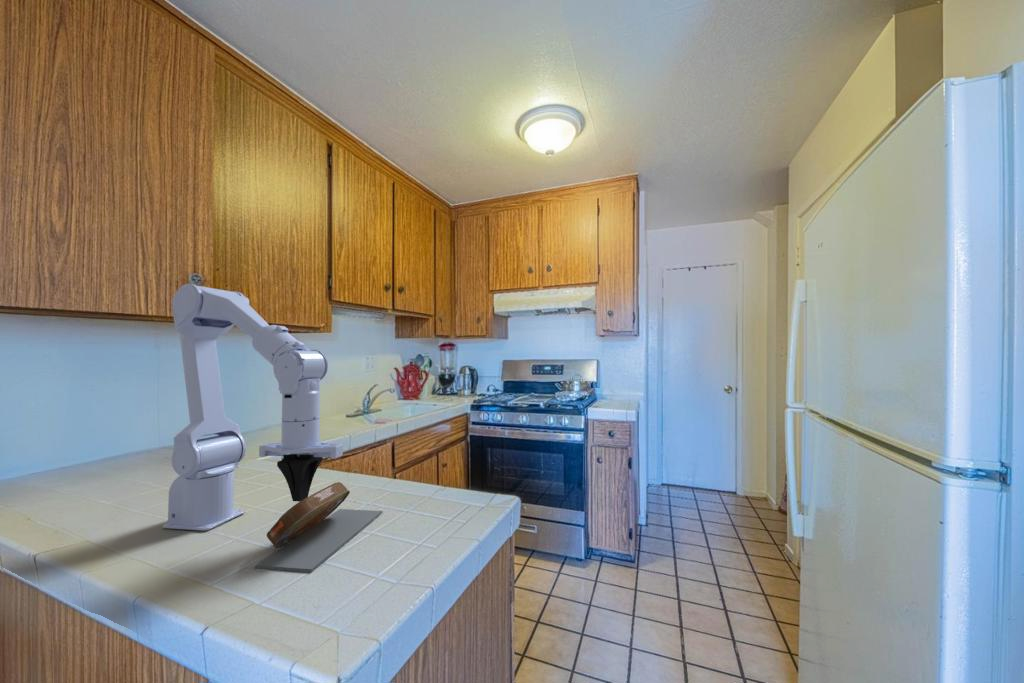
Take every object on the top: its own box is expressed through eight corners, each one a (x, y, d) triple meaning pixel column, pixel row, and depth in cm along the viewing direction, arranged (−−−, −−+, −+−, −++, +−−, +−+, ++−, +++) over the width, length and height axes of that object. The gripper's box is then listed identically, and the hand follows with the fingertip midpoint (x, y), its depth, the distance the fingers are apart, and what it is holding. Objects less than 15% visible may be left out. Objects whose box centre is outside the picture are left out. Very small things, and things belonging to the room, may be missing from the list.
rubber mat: (254, 567, 53) (254, 565, 53) (339, 511, 73) (339, 508, 73) (311, 572, 52) (311, 569, 52) (382, 513, 71) (382, 511, 71)
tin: (263, 558, 55) (300, 522, 55) (251, 541, 56) (287, 505, 55) (330, 516, 70) (359, 487, 69) (320, 503, 71) (349, 474, 70)
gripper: (244, 422, 61) (242, 506, 60) (324, 423, 59) (323, 510, 58) (277, 416, 68) (276, 491, 67) (350, 416, 66) (349, 494, 65)
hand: (300, 499), depth 63 cm, fingers closed
